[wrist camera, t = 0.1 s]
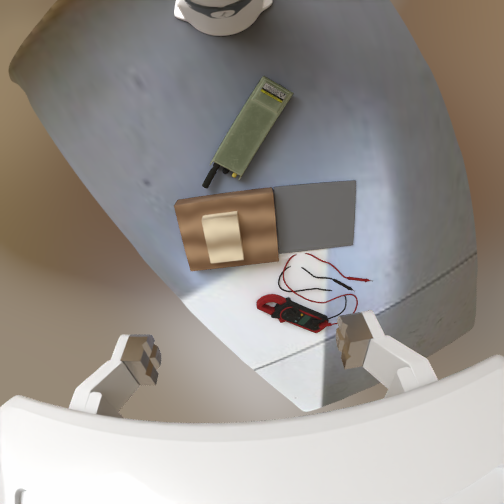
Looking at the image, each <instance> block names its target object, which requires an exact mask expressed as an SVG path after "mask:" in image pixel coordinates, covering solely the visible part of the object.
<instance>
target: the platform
mask: <svg viewBox="0 0 504 504" xmlns="http://www.w3.org/2000/svg"><path fill="white" fill-rule="evenodd" d="M174 208H175V212H176V216H177V220H178V224H179V228H180V232H181V236H182V240H183V244H184V248H185V252H186V255H187V259H188V263H189V266H190V270H191V271H198V270H207V269H216V268H225V267H234V266H242V265H251V264H260V263H268V262H277V261H279V256H278V243H277V231H276V219H275V207H274V196H273V191H272V188H271V187H270V188H261V189H252V190H244V191H236V192H228V193H221V194H214V195H207V196H200V197H193V198H187V199H181V200H177V202H176V204H175V205H174ZM234 211H237V213H238V220H239V227H240V233H241V240H242V247H243V253H244V260H238V261H229V262H220V263H211V262H210V258H209V253H208V249H207V244H206V240H205V235H204V230H203V226H202V217H203V216H204V215H211V214H218V213H226V212H234Z"/></svg>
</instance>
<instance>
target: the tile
mask: <svg viewBox="0 0 504 504" xmlns="http://www.w3.org/2000/svg"><path fill="white" fill-rule="evenodd" d="M202 226H203V230H204V235H205V240H206V244H207V249H208V253H209V258H210V262H211V263H220V262H229V261H238V260H244V253H243V247H242V240H241V233H240V227H239V220H238V213H237V211H234V212H226V213H218V214H211V215H204V216H203V217H202Z"/></svg>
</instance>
